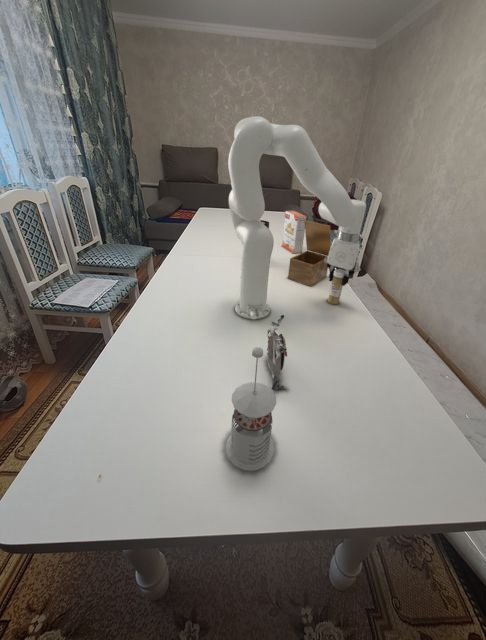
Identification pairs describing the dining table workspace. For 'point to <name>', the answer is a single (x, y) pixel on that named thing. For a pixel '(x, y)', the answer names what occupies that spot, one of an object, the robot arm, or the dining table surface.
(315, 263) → the wooden box
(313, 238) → the lid
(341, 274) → the sprinkles bottle
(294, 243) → the cracker box
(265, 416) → the french press
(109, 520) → the dining table surface
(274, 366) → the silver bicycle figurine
